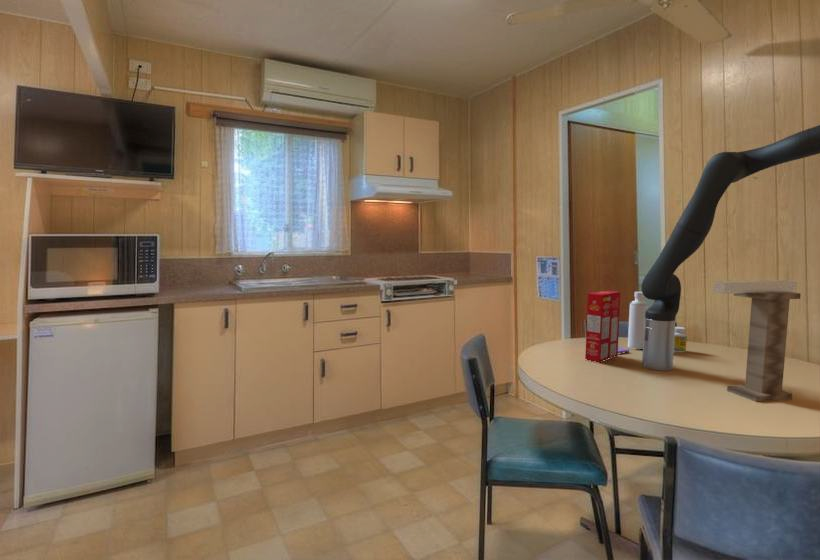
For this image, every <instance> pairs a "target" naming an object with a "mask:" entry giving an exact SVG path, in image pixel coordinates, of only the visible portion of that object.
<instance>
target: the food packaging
mask: <svg viewBox="0 0 820 560" xmlns="http://www.w3.org/2000/svg"><path fill="white" fill-rule="evenodd" d="M621 293H622V292H621V291H614V290H603V291H595V292H588V293H587V307H586V310H587V312H586V313H587V314H586V334H585V335H586V336H585V337H586V338H585V359H587V360H591V361H590V362H592V361H596V362H595V363H597V362H601V361H603V360H606V359H608V358H611V357H614V356H617V355H619V354H618V347H619V332H620V330H619V329H620V315H621V314H620V309H621ZM617 357H618V356H617ZM614 358H615V357H614ZM585 359H584V360H585ZM611 359H612V358H611ZM587 360H586V361H587ZM606 361H607V360H606ZM603 362H604V361H603ZM601 363H602V362H601Z"/></svg>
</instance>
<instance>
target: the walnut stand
mask: <svg viewBox="0 0 820 560" xmlns="http://www.w3.org/2000/svg"><path fill="white" fill-rule="evenodd" d="M733 296H735V297H741V298H742V297H743V298H750V299H751V301H750V303H751V304H750V316H749V329H748V343H747V357H746V369H745V381H744V382H745V383H744V384H733V385H727V388H726V391H727V392H729V393H732V394H735V395H738V396H740V397H743V398H746V399H748V400H751V401H754V402H756V403H757V402H769V401H782V400H783V401H784V400H792V397H793V393H791V392H789V391H786V390H785V391H784V390H783V385H784V384H783V383H784V382H783V381H784V370H785V360H786V358H785V357H786V347H787V334H788V321H789V311H790V301H791V300H801V293H800V292H778V293H733Z"/></svg>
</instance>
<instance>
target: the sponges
mask: <svg viewBox="0 0 820 560" xmlns="http://www.w3.org/2000/svg"><path fill="white" fill-rule="evenodd" d="M623 352H630V349H629V348H624V347H619V346H618V353H623Z"/></svg>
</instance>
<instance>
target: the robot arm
mask: <svg viewBox="0 0 820 560" xmlns="http://www.w3.org/2000/svg"><path fill="white" fill-rule="evenodd" d="M819 154H820V124H819V125H816V126H812V127H810V128H806V129H804V130H802V131H801V130H800V131H798V132H795V133H793V134H791V135H788V136H787V137H784V138H781V139H780V140H777V141H775V142H773V143H770V144H766V145H764V146H761V147H758V148H752V149H749V150H748V149H747V150H743V151H722V152H719V153H716V154H715V155H713V156H712V157H711V158H710V159H709V160H708V161H707V162H706V164H705V167H704V168H703V171H702V173H701V176H700V178H699V181H698V183H697V186H696V188H695V191H694V192H693V194H692V196H691V198H690V200H689V201H688V203H687V204H686V207H685V208H684V210H683V212H682V213H681V215H680V217H679V218H678V221H677V222H676V224H675V226H674V228H673V229H672V232H671V234H670V235H669V237H668V239H667V241H666V243H665V245H664V246H663V248H662V250H661V252H660V254H659V256H658V257H657V258H656V260H655V261H654V263H653V265H652V266H651V267H650V269H649V270H648V272H647V274H646V275H645V276H644V278H643V280H642V282H641V292H642V293H643V295H644V298H646V299H647V300H653V303H652V305H651V306H650V307H648V309H647V310H646V312H645V328H644V338H643V350H642V352H641V353H642V355H641V356H642V357H641V365H642V368H643V369H645V368H646V369H649V370H654V371H655V370H656V371H665V372H666V371H672V370H673V367H674V353H675V352H674V336H675V327H676V319H677V314H678V313H679V310H680V303H681V302H680V301H681V295H682V294H681V293H682V285H681V283H682V282H681V281H680V278H679V277H678V276H677V275H675V274H674V273H675V272H676V270H678V268H679V267H680V266H681V264H683V263H684V262H686V260H687V259H689V258H690V257H691V256H692V255H693V254H695V253H696V251H698V250H699V248H700V247H701V246H702V244H703V243H704V242H705V240H706V238H707V236H708V235H709V232H711V228H712V226H713V223H714V220H715V215H716V211H717V207H718V205H719V202H720V200H721V198H722V197H723V195H724V194H725V192H726V191H727V189H728V188H729V187H730V186H731V184H733V183H737V182H739V181H740V180H743V179H745V178H747V177H749V176H752V175H754V174H756V173H758V172H761V171H763V170H766V169H769V168H773V167H775V166H778V165H781V164H786V163H788V162H793V161H796V160H800V159H805V158H808V157H812V156H816V155H819Z"/></svg>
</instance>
